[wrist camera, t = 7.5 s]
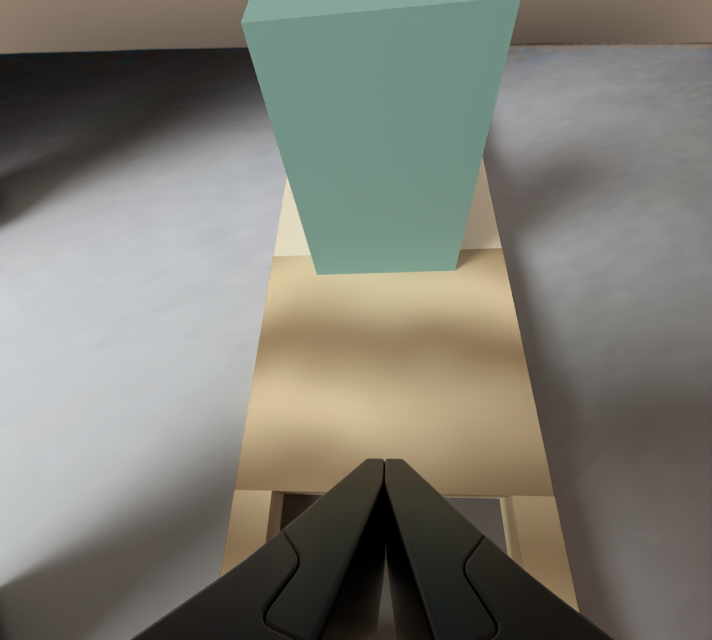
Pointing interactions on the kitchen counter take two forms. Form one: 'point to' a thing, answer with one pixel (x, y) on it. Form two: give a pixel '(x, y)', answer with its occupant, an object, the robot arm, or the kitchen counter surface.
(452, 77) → the teal L-block
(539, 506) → the birch board
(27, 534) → the kitchen counter surface
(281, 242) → the cream pad
